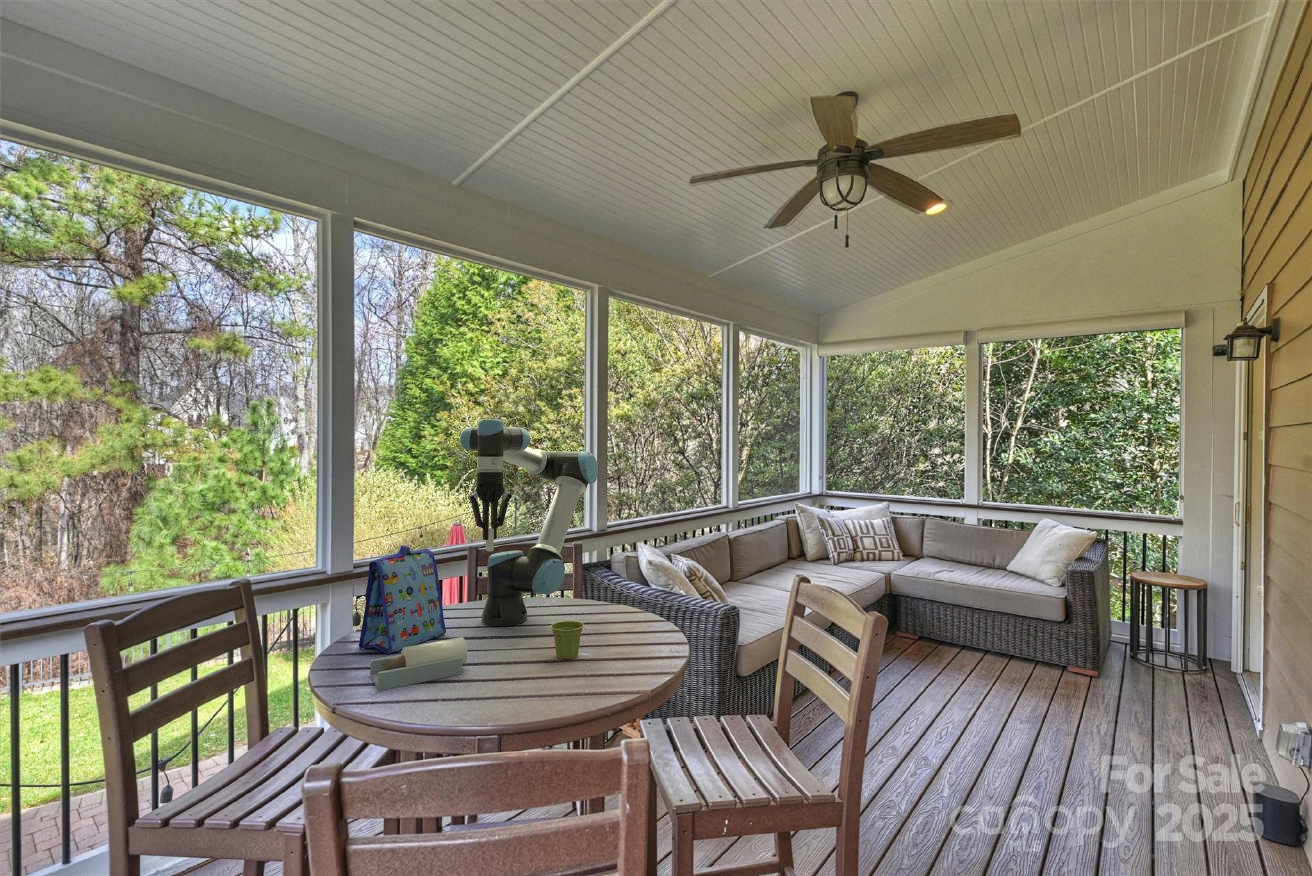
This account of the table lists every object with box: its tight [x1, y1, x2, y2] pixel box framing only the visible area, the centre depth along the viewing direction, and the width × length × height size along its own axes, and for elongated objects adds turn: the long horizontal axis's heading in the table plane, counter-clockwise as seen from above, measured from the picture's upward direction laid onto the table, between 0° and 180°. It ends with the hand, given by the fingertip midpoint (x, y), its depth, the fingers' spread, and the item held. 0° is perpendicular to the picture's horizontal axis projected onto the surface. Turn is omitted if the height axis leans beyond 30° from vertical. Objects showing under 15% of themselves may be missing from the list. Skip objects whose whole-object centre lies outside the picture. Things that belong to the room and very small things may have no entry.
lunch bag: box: [358, 544, 447, 655], centre depth 184 cm, size 22×14×29 cm, turn 154°
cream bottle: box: [382, 636, 468, 671], centre depth 157 cm, size 7×7×20 cm
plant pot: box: [550, 620, 585, 660], centre depth 172 cm, size 9×9×9 cm
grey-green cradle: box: [369, 654, 463, 692], centre depth 157 cm, size 20×11×4 cm, turn 124°
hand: (489, 550), depth 180 cm, fingers closed
